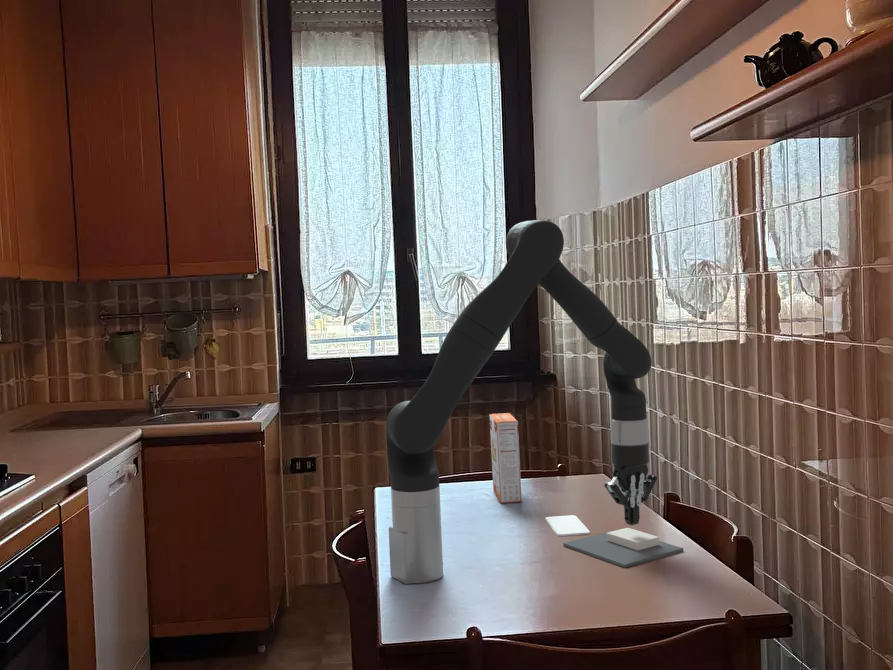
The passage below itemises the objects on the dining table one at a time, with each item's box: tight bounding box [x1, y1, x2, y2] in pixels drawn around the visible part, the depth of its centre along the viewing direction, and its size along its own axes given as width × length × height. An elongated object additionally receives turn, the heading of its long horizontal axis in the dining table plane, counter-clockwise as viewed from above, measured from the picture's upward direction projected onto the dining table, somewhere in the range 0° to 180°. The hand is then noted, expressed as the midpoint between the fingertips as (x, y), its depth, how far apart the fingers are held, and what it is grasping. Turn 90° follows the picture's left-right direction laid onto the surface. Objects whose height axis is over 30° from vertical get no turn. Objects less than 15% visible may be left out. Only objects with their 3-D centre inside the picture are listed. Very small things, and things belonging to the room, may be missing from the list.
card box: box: [605, 527, 660, 551], centre depth 177 cm, size 2×9×6 cm
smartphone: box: [545, 514, 591, 537], centre depth 194 cm, size 7×1×15 cm
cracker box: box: [489, 412, 523, 504], centre depth 222 cm, size 14×6×21 cm, turn 4°
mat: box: [562, 528, 684, 569], centre depth 175 cm, size 16×18×1 cm
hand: (632, 523), depth 177 cm, fingers closed
